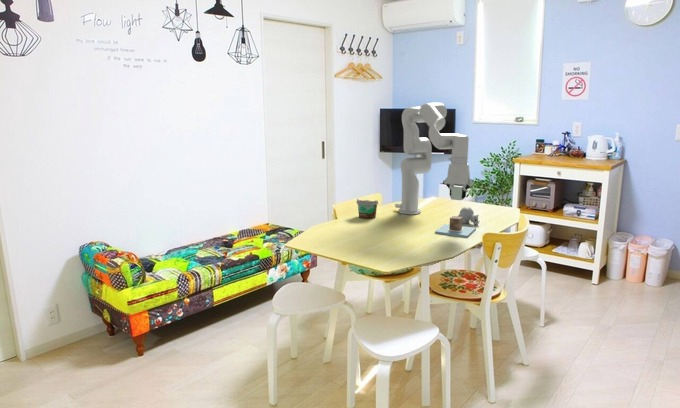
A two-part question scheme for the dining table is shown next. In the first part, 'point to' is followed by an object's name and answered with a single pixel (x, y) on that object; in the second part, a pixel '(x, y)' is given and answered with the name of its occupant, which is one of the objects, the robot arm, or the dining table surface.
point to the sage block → (456, 193)
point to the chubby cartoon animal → (468, 216)
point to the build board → (462, 233)
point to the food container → (367, 209)
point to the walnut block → (455, 223)
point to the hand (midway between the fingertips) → (457, 197)
